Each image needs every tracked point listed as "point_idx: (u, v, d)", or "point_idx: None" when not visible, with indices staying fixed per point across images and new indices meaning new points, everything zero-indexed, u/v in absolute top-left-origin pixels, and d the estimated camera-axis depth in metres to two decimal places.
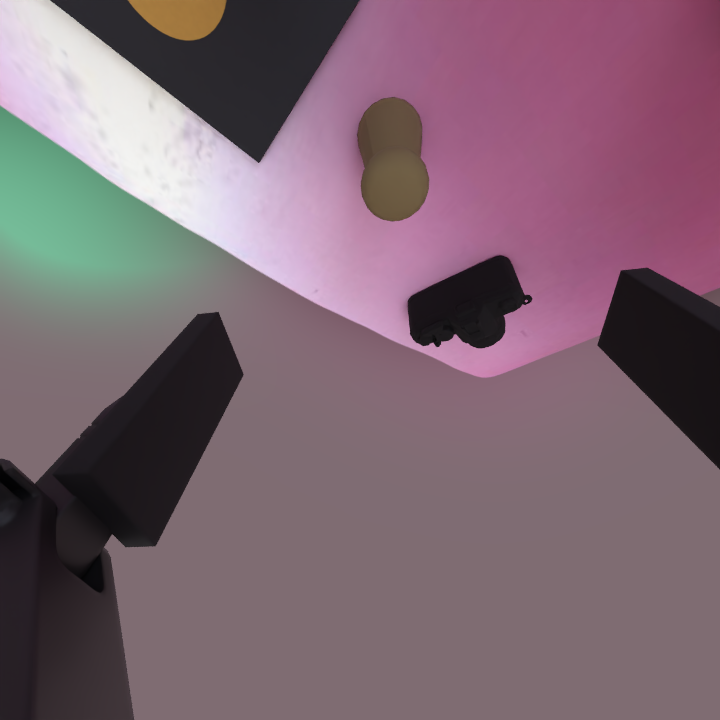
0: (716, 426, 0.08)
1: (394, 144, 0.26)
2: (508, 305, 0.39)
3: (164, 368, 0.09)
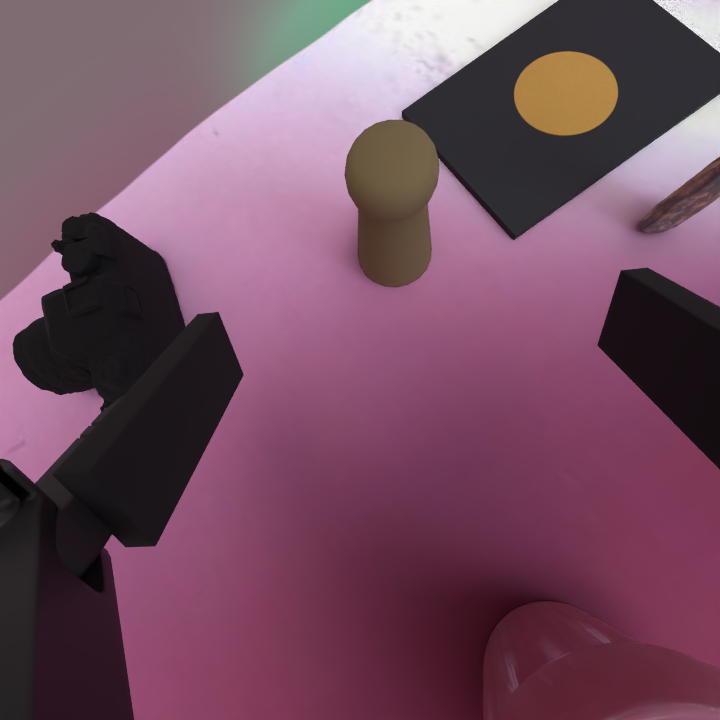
0: (716, 425, 0.08)
1: None
2: (114, 366, 0.21)
3: (164, 368, 0.09)
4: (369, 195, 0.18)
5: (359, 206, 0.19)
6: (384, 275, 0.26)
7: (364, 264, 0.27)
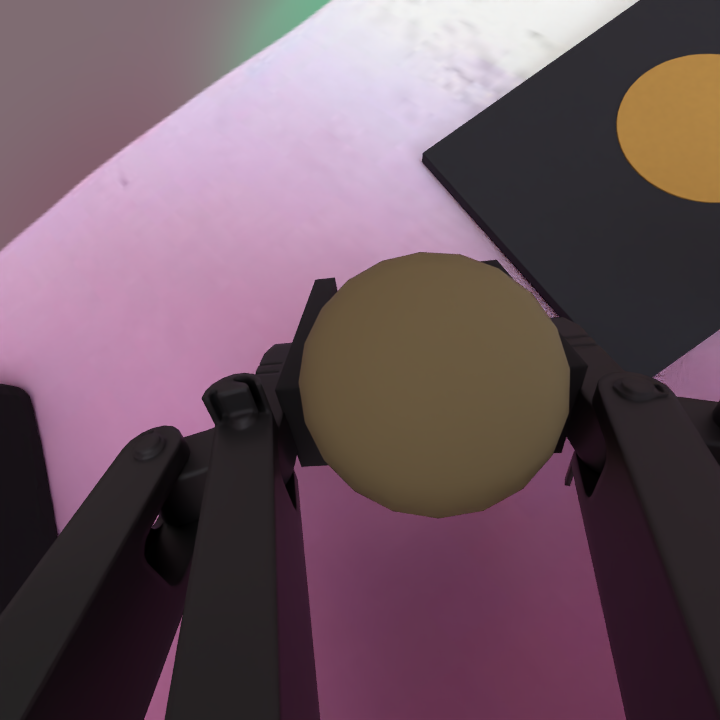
0: None
1: None
2: None
3: (316, 318, 0.10)
4: (365, 491, 0.06)
5: None
6: None
7: None
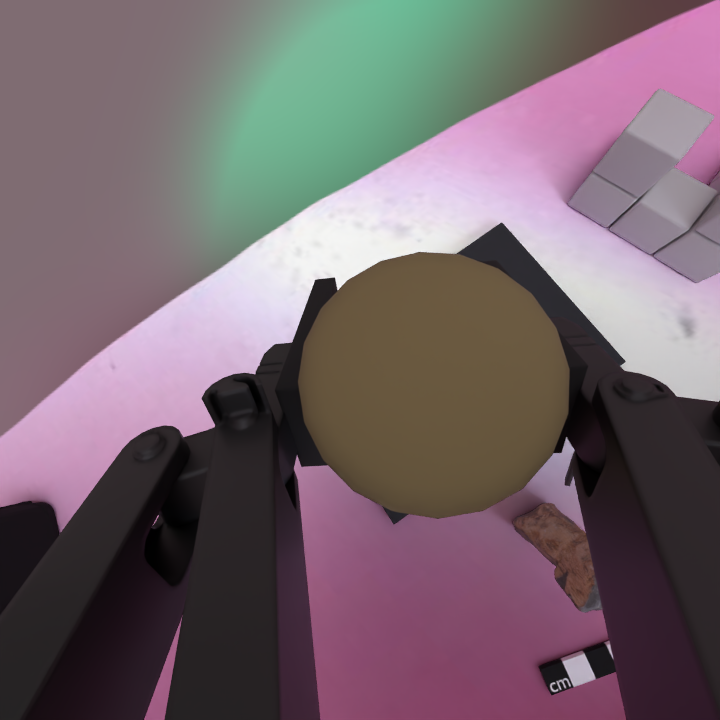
0: None
1: None
2: None
3: None
4: (365, 491, 0.06)
5: None
6: None
7: None
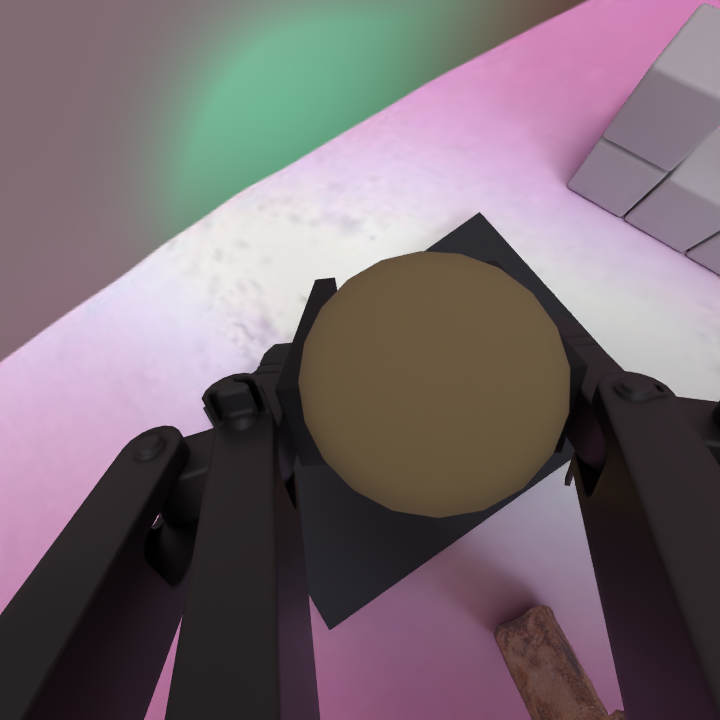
0: None
1: None
2: None
3: None
4: (365, 490, 0.06)
5: None
6: None
7: None
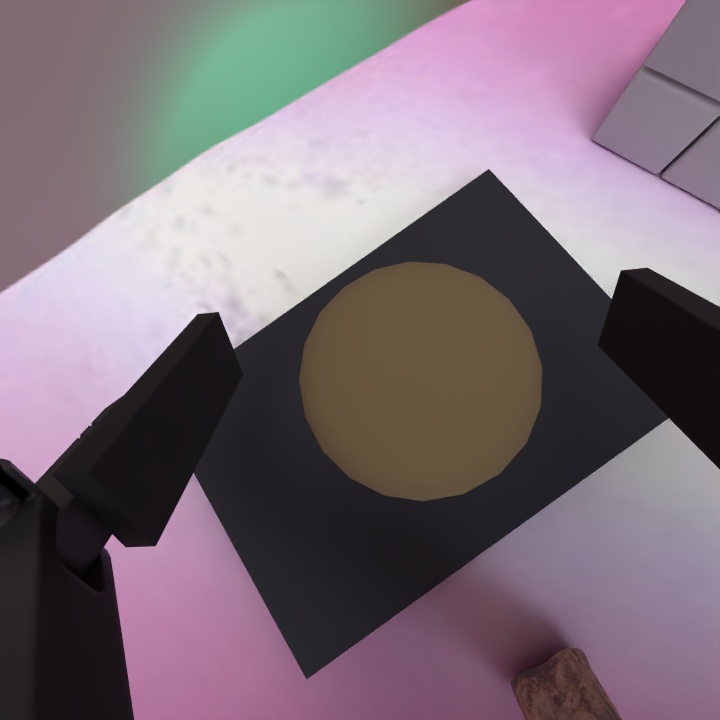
0: (716, 426, 0.08)
1: None
2: None
3: (164, 368, 0.09)
4: (359, 476, 0.07)
5: None
6: None
7: None
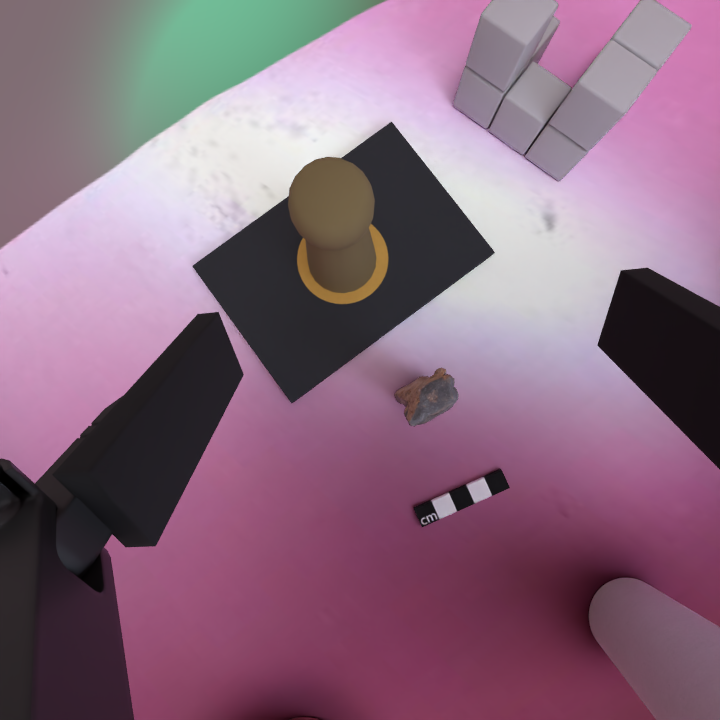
0: (715, 425, 0.08)
1: None
2: None
3: (164, 368, 0.09)
4: (311, 231, 0.20)
5: (303, 236, 0.21)
6: (332, 284, 0.28)
7: (313, 273, 0.29)
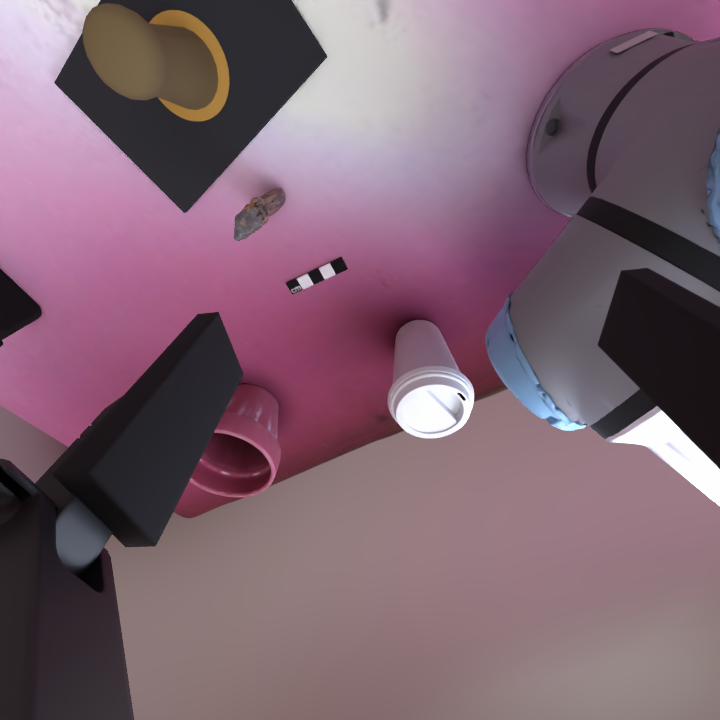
0: (716, 426, 0.08)
1: (171, 64, 0.27)
2: None
3: (164, 368, 0.09)
4: (116, 90, 0.25)
5: None
6: (180, 105, 0.33)
7: None
